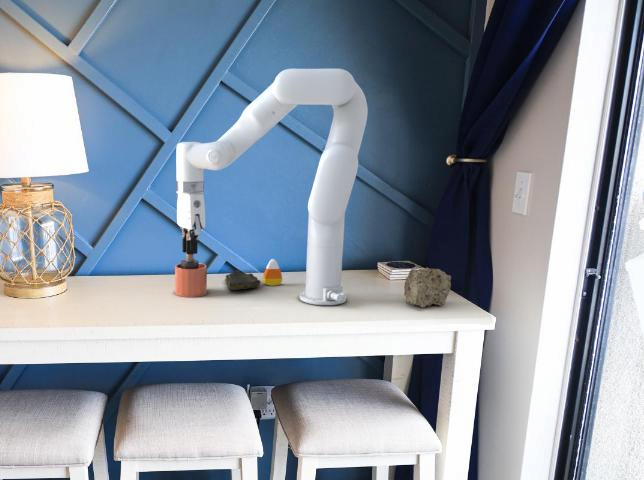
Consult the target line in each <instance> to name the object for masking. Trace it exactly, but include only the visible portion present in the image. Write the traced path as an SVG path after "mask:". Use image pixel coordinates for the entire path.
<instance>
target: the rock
mask: <svg viewBox="0 0 644 480" xmlns="http://www.w3.org/2000/svg"><path fill="white" fill-rule="evenodd" d="M451 279H452V276H451V275H450V274H446V272H445V271H442V270H441V269H440V268H429V267H425V268H419V269H415V268H411V269H409V272H408V275H407V277H406V278H405V282H404V286H403V287H404V293H403V295H404V297H405V299H406V303H408V304H411V305H416V306H419V307H421V308H425V307H427V306H429V307H430V306H432V305H436V306H443V305H444V304H445V302H446V301H447V299H448V297H449V294H450V291H451V287H452V283H451Z"/></svg>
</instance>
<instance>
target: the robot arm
mask: <svg viewBox="0 0 644 480" xmlns="http://www.w3.org/2000/svg"><path fill="white" fill-rule="evenodd" d="M299 105H304V106H305V105H307V106H310V105H311V106H317V105H318V106H331V107H332V111H333V118H332V120H331V124H330V130H329V134H328V137H327V140H326V144H325V147H324V149H323V151H322V153H321V156H320V158H319V161H318V162H319V163H318V164H317V165H318V167H317V170H316V173H315V177H314V180H313V184H312V189H311V191H310V195H309V198H308V202H307V212H308V221H307V240H306V241H307V244H306V262H305V263H306V268H305V290H304V291H302V292H300V293H299V297H298V298H299V300H300V301H302V302H303V303H306V304H310V305H316V306H336V305H337V306H338V305H341V304H344V303H345V302H346V301H347V297H348V295H347V293H346V292H343V287H344V286H342V272H343V254H344V241H345V240H344V238H345V217H346V215H345V214H346V211H347V207H348V204H349V201H350V197H351V194H352V191H353V188H354V183H355V181H356V177H357V173H358V170H359V169H358V168H359V152H360V149H361V145H362V141H363V137H364V134H365V130H366V126H367V121H368V110H369V109H368V103H367V98H366V95H365V93H364V91H363V89H362V88H361V87H360V86H359V84H358V83H357V81H355V78H354V76H353V75H352V74H351V72H349V71H348V70H346V69H343V68H287V69H283V70H281V71H280V72H279V73H278V74H277V75H276V76H275V79H274V81H273V82H272V83H271V84H270V85H269V86H268V87H267V88H266V89H265V90H264V91H262V93H260V94H259V95H258V97H256V98H255V99H254V100H252V101H251V103H250V104H248V105H247V106H246V107H245V109H244V110H243V111H242V113H241V115H240V117H239V118H238V120H237V121H236V122H235V123H234V124H233V125H232V126H231V127H230V128H229V129H228V130H227V131H226V132H225V133H224V134H222V136H221V137H219V138H218V139H217V140H216V141H211V142H204V143H203V142H202V143H201V142H199V141H181V142H179V143H177V145H176V149H175V150H176V151H175V152H176V153H175V154H176V155H175V156H176V157H175V158H176V159H175V160H176V161H175V162H176V164H175V165H176V174H175V175H176V185H175V186H176V194H177V202H176V223H177V225H178V226H179V229H180V230H181V238H182V241H181V243H182V244H181V246H182V248H181V250H182V253H184V254H186V253H187V254H193V255H197V254H198V245H199V244H198V243H199V242H198V241H199V235H201V234H202V230H205V228H206V205H205V197H204V193H205V192H204V191H205V190H204V188H205V187H204V182H205V181H204V180H205V179H204V178H205V177H204V176H205V170H209V171H221V170H223V169H225V168H227V167H229V166H230V165H232V164H233V163H234V162H236V160H238V159H239V157H241V156H242V155H243V154H244V153H245V152H246V151H247V150H248V149H250V148H251V147H252V146H253V145H254V144H255V143H256V142H257V141H259V140H260V139H262V138H263V137H264V136H265V135H267V133H268V132H270V131H271V130H272V129H273V128H274V127H275V126H276V125H277V124H278V123H279V122H280V121H282V120H283V119H284V118H285V117H286V116H287V115H288V114H289V113H291V112H292V111H293V110H294V109H295V108H297V107H298V106H299ZM186 233H188V240H186Z"/></svg>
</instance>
